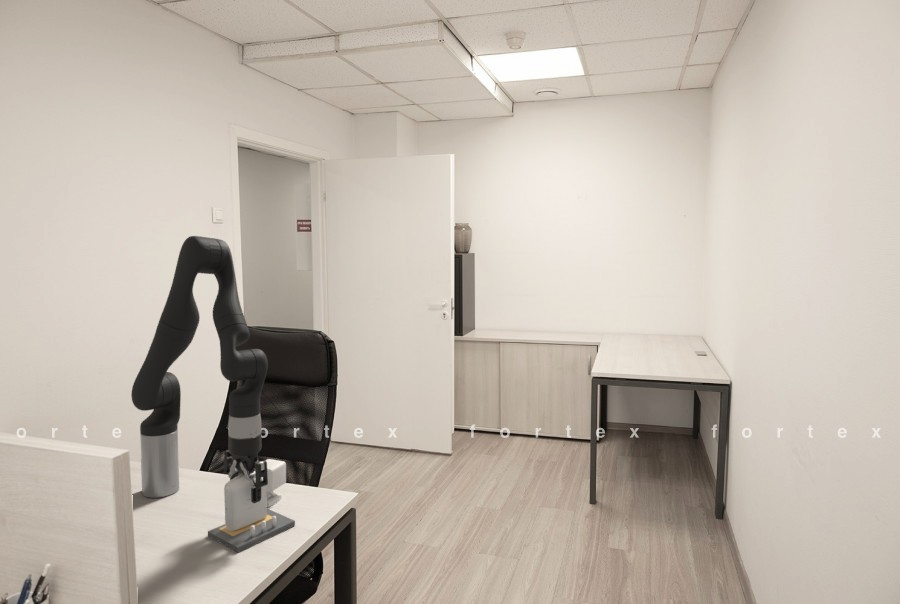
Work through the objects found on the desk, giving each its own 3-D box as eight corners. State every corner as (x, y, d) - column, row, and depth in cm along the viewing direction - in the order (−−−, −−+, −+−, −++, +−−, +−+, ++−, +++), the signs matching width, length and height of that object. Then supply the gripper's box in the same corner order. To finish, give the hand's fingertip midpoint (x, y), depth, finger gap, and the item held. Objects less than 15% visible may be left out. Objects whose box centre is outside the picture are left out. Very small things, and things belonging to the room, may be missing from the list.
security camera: (286, 496, 159) (286, 461, 158) (270, 507, 153) (270, 470, 152) (267, 493, 161) (266, 458, 160) (250, 503, 155) (250, 467, 154)
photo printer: (231, 533, 136) (230, 483, 135) (222, 527, 139) (221, 478, 137) (269, 518, 144) (269, 470, 143) (260, 512, 147) (259, 465, 145)
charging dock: (207, 536, 137) (207, 521, 137) (264, 511, 150) (264, 498, 150) (237, 552, 130) (237, 536, 130) (294, 525, 143) (294, 511, 143)
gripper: (213, 429, 140) (214, 493, 142) (249, 442, 132) (249, 511, 133) (241, 422, 146) (241, 484, 148) (276, 434, 138) (276, 499, 139)
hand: (245, 496), depth 140 cm, fingers open, 8 cm apart
